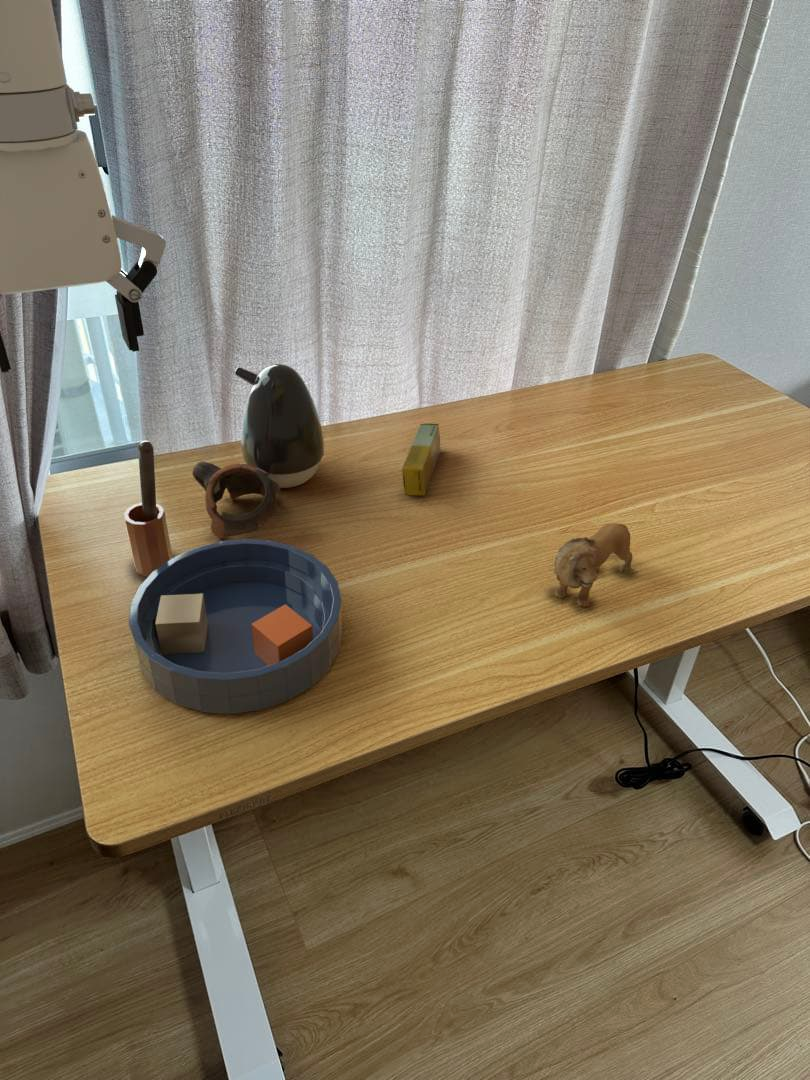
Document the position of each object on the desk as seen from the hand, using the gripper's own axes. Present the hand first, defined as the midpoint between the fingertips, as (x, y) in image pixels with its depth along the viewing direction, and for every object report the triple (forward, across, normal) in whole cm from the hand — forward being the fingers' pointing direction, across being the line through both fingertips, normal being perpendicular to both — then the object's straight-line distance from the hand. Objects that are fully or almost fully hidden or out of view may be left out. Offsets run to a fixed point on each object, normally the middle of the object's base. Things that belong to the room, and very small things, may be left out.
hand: (69, 354), depth 64 cm
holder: (+28, -4, -7) cm, 29 cm away
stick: (+28, -4, -7) cm, 29 cm away
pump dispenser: (+28, -23, -18) cm, 41 cm away
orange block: (+28, -12, +12) cm, 33 cm away
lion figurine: (+28, -45, +16) cm, 56 cm away
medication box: (+28, -40, -12) cm, 50 cm away
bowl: (+28, -9, +8) cm, 31 cm away
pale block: (+28, -4, +6) cm, 29 cm away
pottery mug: (+28, -15, -12) cm, 34 cm away
